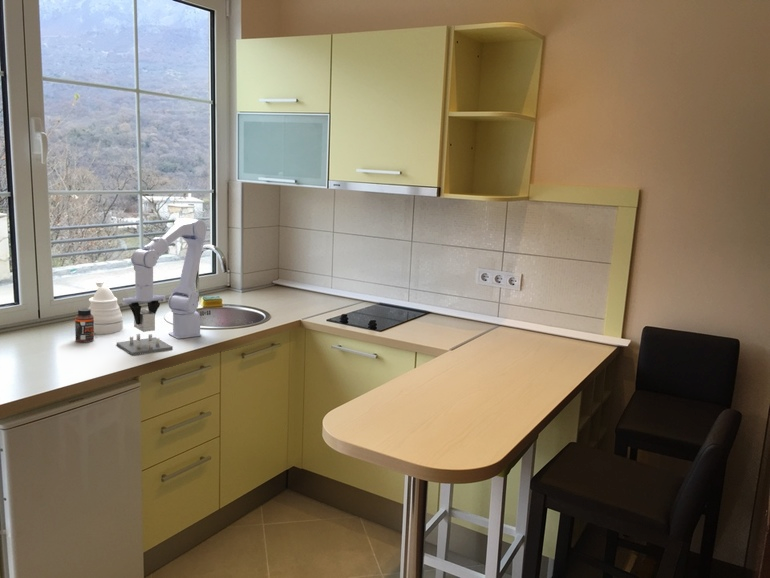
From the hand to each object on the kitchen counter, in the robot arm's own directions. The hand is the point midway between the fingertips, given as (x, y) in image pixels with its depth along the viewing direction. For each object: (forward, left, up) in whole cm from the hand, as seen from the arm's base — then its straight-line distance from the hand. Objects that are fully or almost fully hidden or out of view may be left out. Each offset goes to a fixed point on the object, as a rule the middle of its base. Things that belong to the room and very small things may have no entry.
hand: (144, 323), depth 223 cm
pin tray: (0, 0, -9) cm, 9 cm away
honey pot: (+3, -30, -9) cm, 31 cm away
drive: (0, 0, -2) cm, 2 cm away
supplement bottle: (+14, -18, -9) cm, 25 cm away
